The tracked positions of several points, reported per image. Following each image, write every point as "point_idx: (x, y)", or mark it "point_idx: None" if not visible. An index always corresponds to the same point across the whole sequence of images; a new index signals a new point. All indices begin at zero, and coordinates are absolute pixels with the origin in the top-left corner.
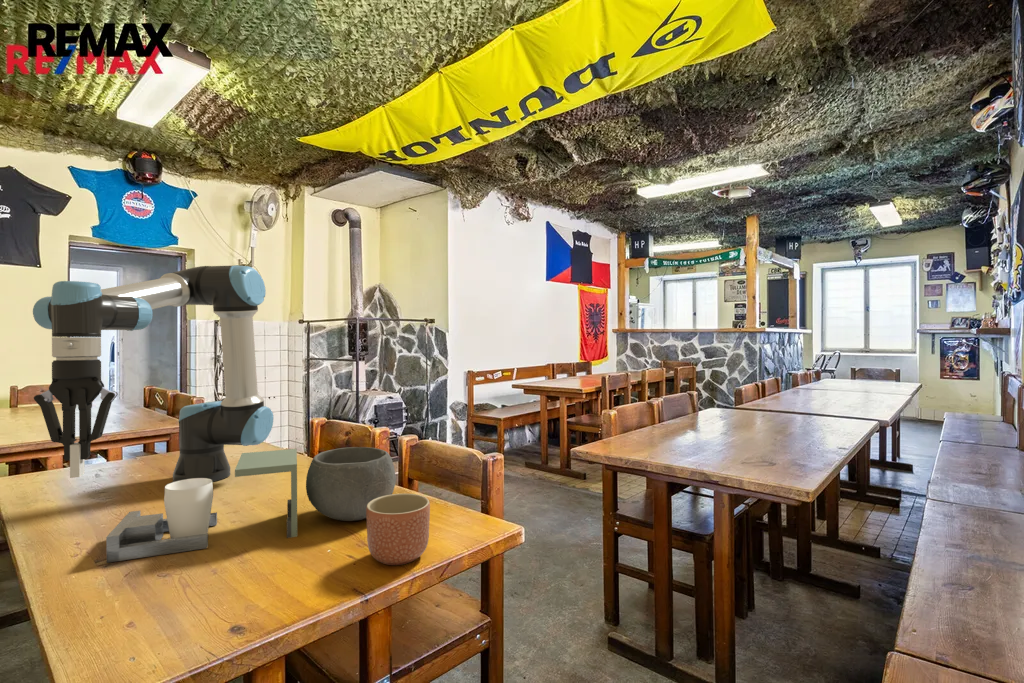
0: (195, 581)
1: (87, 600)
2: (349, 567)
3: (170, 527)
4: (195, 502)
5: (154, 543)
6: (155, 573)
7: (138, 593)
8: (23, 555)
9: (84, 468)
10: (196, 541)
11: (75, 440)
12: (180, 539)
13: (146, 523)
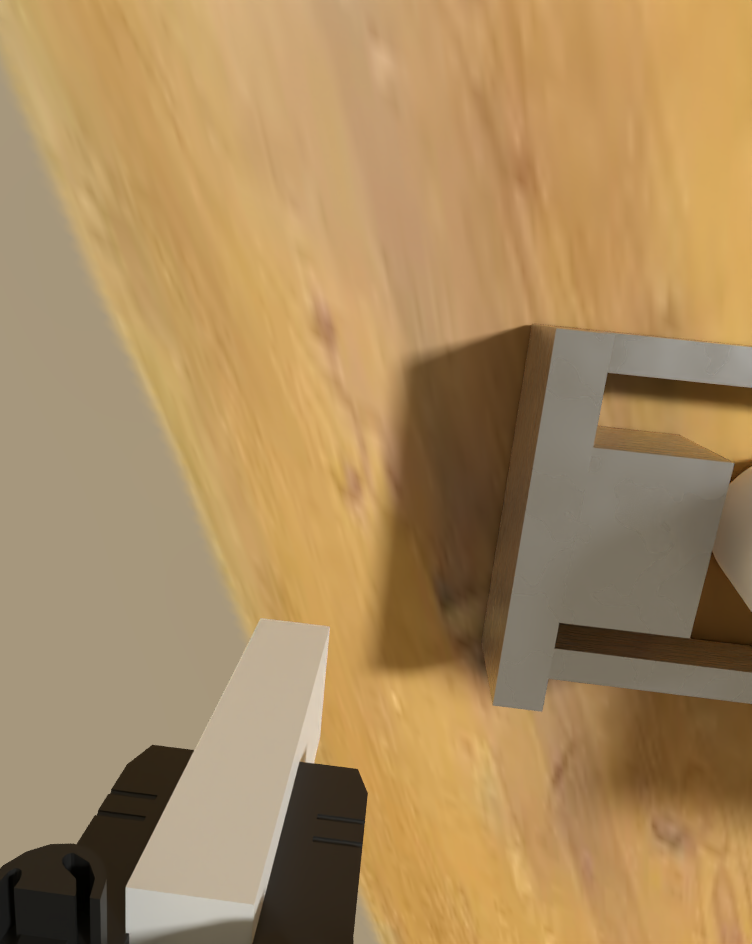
0: None
1: (470, 892)
2: None
3: (744, 600)
4: None
5: (662, 691)
6: (645, 809)
7: (601, 919)
8: (148, 376)
9: (321, 652)
10: None
11: (106, 907)
12: None
13: (651, 601)
